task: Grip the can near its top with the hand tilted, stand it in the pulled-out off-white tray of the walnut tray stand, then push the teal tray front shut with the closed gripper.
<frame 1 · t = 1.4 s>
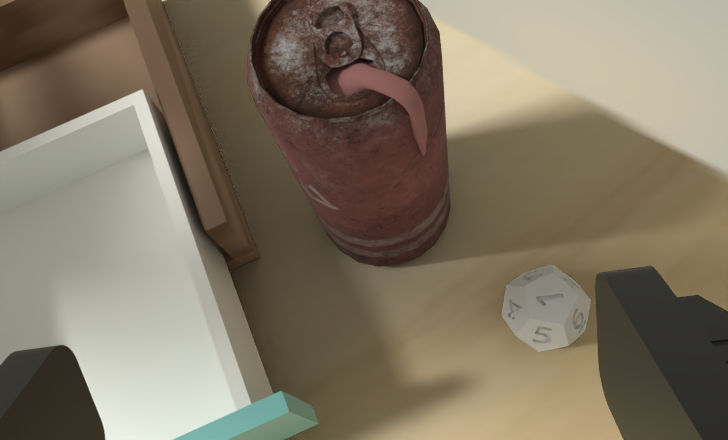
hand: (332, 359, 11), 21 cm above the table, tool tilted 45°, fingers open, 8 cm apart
tray stand: (77, 175, 37), on the table
tray: (80, 311, 30), point 4 cm above the table, slide at 8.0 cm
game die: (541, 316, 31), on the table
can: (389, 211, 34), on the table
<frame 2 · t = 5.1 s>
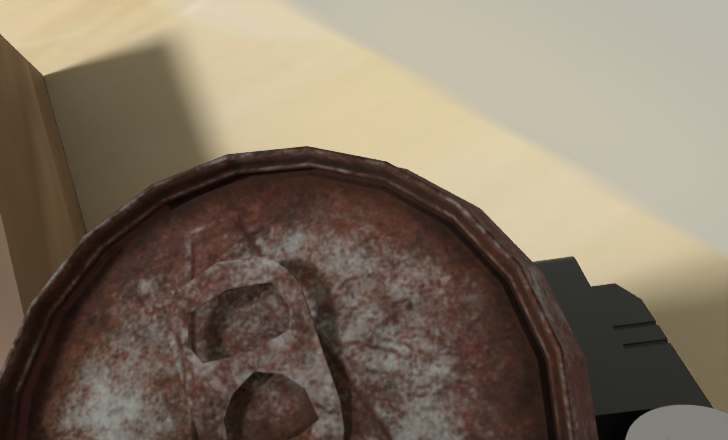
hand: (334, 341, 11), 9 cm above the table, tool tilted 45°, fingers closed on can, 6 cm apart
when the fingers open (13 cm above the table, at t = 10.1 s): can drops 1 cm, resting on tray.
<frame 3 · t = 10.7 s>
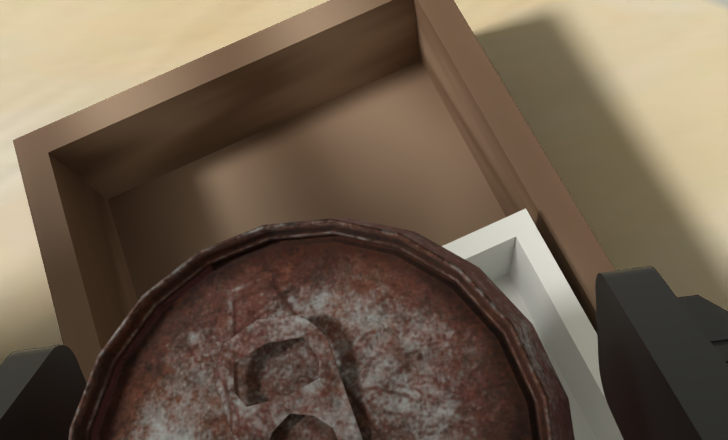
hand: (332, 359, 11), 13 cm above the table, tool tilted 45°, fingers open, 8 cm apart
tray stand: (344, 314, 24), on the table
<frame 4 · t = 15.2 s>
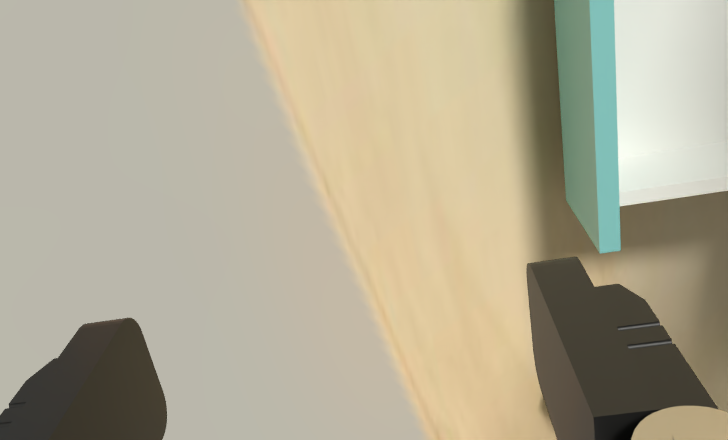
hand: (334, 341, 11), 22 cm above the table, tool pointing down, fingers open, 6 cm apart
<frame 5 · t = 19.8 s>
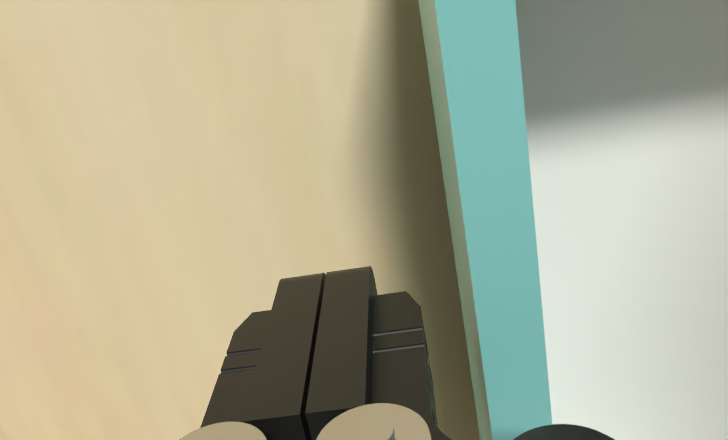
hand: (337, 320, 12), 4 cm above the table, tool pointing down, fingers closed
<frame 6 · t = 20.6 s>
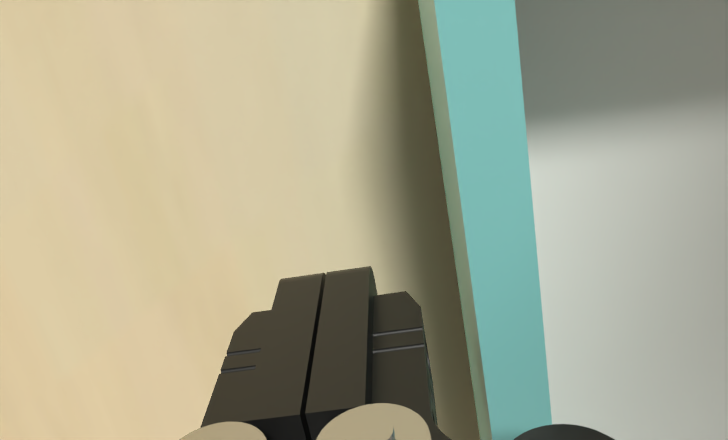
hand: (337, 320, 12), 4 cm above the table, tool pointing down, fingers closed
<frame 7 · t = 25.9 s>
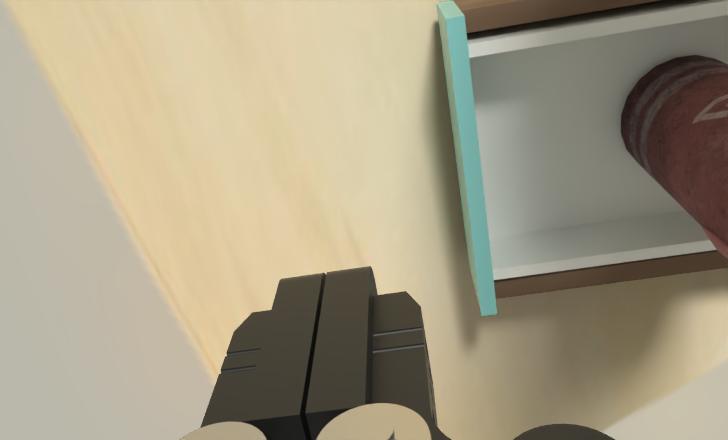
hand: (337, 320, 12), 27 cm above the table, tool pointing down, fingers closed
tray stand: (625, 111, 37), on the table
tray: (622, 136, 34), point 4 cm above the table, slide at 0.3 cm, touching can
can: (674, 114, 36), point 2 cm above the table, touching tray
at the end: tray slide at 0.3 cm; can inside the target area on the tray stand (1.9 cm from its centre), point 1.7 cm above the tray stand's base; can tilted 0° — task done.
